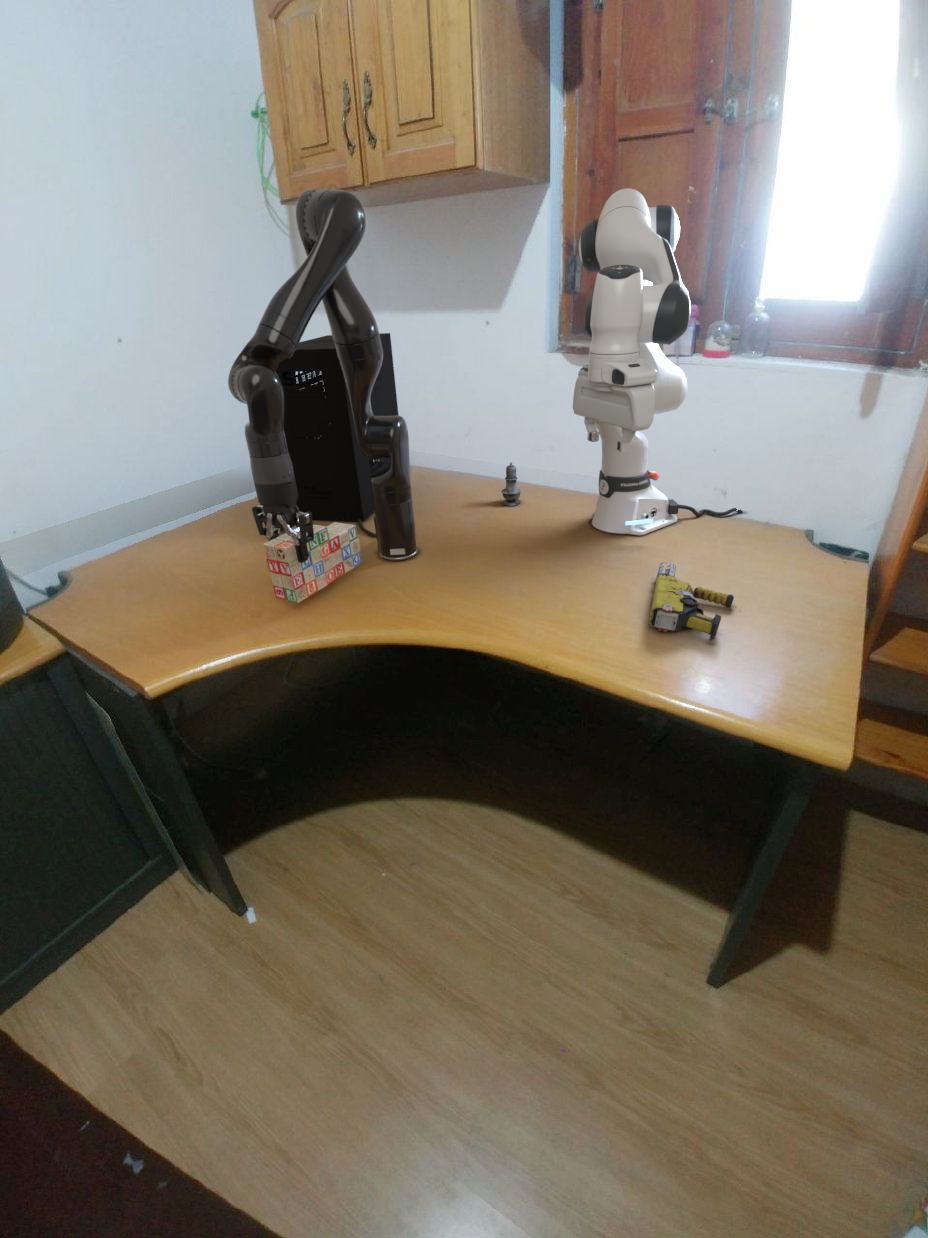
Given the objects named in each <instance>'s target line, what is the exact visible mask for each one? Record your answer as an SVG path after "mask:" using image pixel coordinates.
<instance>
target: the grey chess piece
mask: <svg viewBox="0 0 928 1238" xmlns="http://www.w3.org/2000/svg"><path fill="white" fill-rule="evenodd" d="M505 475H506V476H505V477H504V479H505V488H503V489H502V490H501V494H502V497H503V498H504V500H503V501H502V504H503V505H504V506H508V507H511V506H518V505H520V504H521V501H520V500H519V498H520V496H521V493H522V489H520V488H519V487H518V484H517V480H518V476H517V467H516V466H515V465H514V464H513V462H510V463H509V465H507V466H506V469H505Z"/></svg>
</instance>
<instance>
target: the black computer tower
mask: <svg viewBox="0 0 928 1238" xmlns="http://www.w3.org/2000/svg"><path fill="white" fill-rule="evenodd" d="M379 336H380V340H381V345H382V350H383V360H382V365H381V368H380V371H379V373H378V376H377V378H376V381H375V383H374V386H373V389H372V392H371V397H370V402H371V409H372V413H373V414H374V415H397V416H400V415H399V407H398V398H397V397H398V396H397V387H396V377H395V367H394V366H395V365H394V358H393V357H394V356H393V349H392V339H391V333H390V332H383V333H380V332H379ZM275 372H276V374H277V375H278V377H279V379H280V381H281V384H282V387H283V392H284V432H285V437H286V441H287V447H288V452H289V455H290V458H291V461H292V465H293V471H294V476H295V481H296V486H297V492H298V499H297V502H296V504H297V507H298V509H299V511H301V512H304V513H306V512H308V511H309V512H311V514H312V520H313V521H316V520H317V521H337V522H339V521H341V522H358V520H357V519H358V518H360V519H361V521H362V522H365V521H366V520H367V519H368V518H369V517H370V516H372V514H374V513H375V510H374V503H373V495H372V488H371V476H372V475H373V474H374V473H376V472H378V471H380V470H383V469H386V468H388V467H390V466H391V458H371V457H366V456H365V455H364V454H363V453H362V452H361V450H360V447H359V444H358V441H357V437H356V432H355V426H354V421H353V415H352V410H351V404H350V400H349V395H348V391H347V387H346V384H345V380H344V376H343V373H342V369H341V366H340V363H339V359H338V356H337V353H336V349H335V345H334V342H333V338H332V334H328V335H323V336H320V337H315V338H311V339H306V340H304V341H300V342H299V344H298V346H297V348H296V350H295V352H294V354H293V355H292V357H291V358H290V359H289V360H288V361H286V362H283V363H281V364H280V365H279V366H278V368H277V370H276V371H275ZM296 373H297V374H296Z"/></svg>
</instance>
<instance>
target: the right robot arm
mask: <svg viewBox="0 0 928 1238" xmlns="http://www.w3.org/2000/svg"><path fill="white" fill-rule="evenodd" d="M680 234H681V225H680V220H679V216H678V214H677V213H676V209H675V208H674V207H673V206H672V205H670V204H657V205H656V206H650V207H649V206H648V204H647V201H646V198H645V197H644V195H643V194H642V192H640V191H638V190H637V189H634V188H627V187H626V188H621V189H619V190H617V191H615V192H614V193H612V194H611V195H610V196H609V197H608V199H607V200H606V201H605V203H604V205H603V208H602V210H601V212H600V214H599V218H594V219H592V220H591V221H590V222H588V223H587V224H585V225H584V227H583V228H582V230H581V232H580V237H579V240H578V255H579V258H580V261H581V263H582V266H583V268H584V269H585V270H586V271H587V272H588V273H589V272H590V273H596V277H595V281H594V286H593V287H594V288H593V294H592V295H591V296H590V297H589V299H588V300H587V301H586V302H585V321H584V323H585V324H584V333H585V334H586V335H587V336H588V337H589V338H590V339H591V341H590V346H589V349H588V363H587V364H584V365H582V367H581V368H580V369H579V370H578V374H577V378H576V380H575V383H574V389H573V398H572V410H573V413H574V415H577V416H581V417H584V421H583V423H584V425H585V429H586V432H587V441H588V442H592V443H596V442H599V441H600V443H601V468H600V470H599V474H598V492H599V493H598V498H597V502H596V507H595V511H594V514H593V517H592V520H591V525H592V526H593V527H594V528H595V529H597V530H599V531H601V532H605V533H611V534H623V535H625V534H626V535H632V536H633V535H634V536H645V535H646V534H650V533H652V532H654V531H657V530H660V529H662V528H665V527H668V526H670V525H672V524H675V523H677V522H678V516H677V515H678V514H679V509H681V510H688V511H690V512H691V513H692V514H693V515H694V516H696V517H702V515H703V514H710V515H712V516H715V517H723V516H728V515H730V514H731V513H734V512H736V513H738V514H744V512H743V510H742V509H740V510H738V511H736V510H737V509H736V508H737V507H732V508H729V509H727V510H725V511H719V512H718V511H714V510H711V509H708V508H707V509H706V508H704V509H700V510H699V511H697V509H696V508H694V507H692V506H689V505H687V504H686V505H685V504H679V503H678V502H677V501H676V500H674V499H671V498H668V497H667V496H666V495H665V494H664V493H663V492H661V491H660V490H659V489H658V488H656V487H655V486H654V485H652V483H651V480H653V481H658V479H659V478H660V473H659V472H657V471H654V470H651V471H649V470H648V469H647V466H648V458H649V457H648V456H649V446H650V443H649V440H648V437H646V435H645V434H644V433H643V432H641V431H644V430H645V431H646V430H649V428H650V427H651V426H652V424H653V422H654V417H655V415H660V414H663V413H665V414H666V413H669V412H673V411H676V410H678V409H679V408H680V407H681V406H682V404H683V402H684V400H685V399H686V396H687V393H688V387H689V386H688V380H687V376H686V374H685V372H684V370H682V369H681V367H679V366H678V365H676V364H675V363H673V362H672V361H671V360H670V359H669V358H667V356H666V355H665V353H664V352H663V351H662V349H661V347H660V345H669V346H670V345H671V344H673V343H674V342H676V341H677V340H679V339H680V338H681V337H682V336H683V335H684V334H685V333H686V331H687V329H688V326H689V324H690V319H691V313H692V305H691V299H690V294H689V290H688V289H687V288H686V286H685V285H684V283H683V281H682V278H681V273H680V270H679V268H678V265H677V262H676V258H675V256H674V252H675V251H676V246H677V245H678V241H679V239H680Z"/></svg>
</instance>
